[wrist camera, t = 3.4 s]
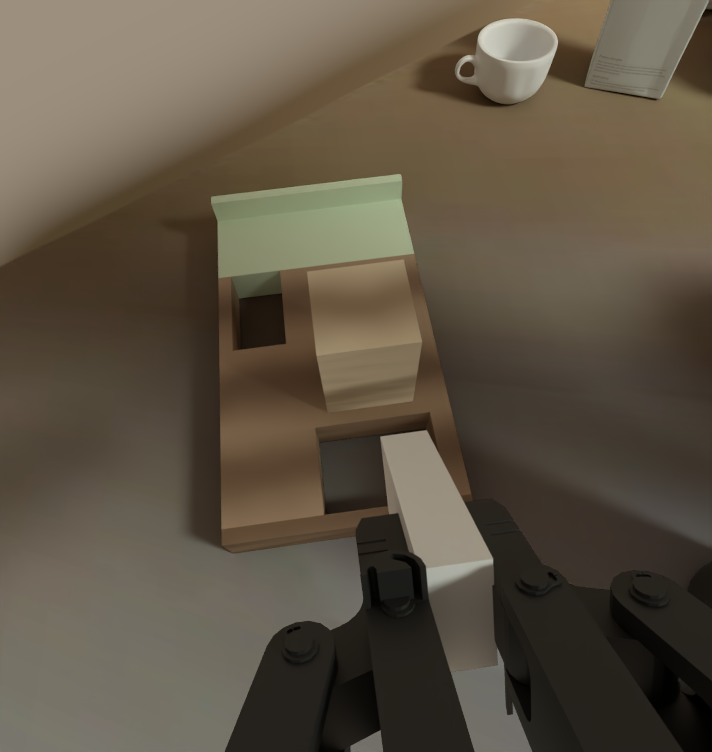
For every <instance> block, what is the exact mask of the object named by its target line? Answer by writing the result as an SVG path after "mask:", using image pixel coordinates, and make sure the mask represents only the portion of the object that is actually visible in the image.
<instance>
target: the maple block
mask: <svg viewBox="0 0 712 752" xmlns="http://www.w3.org/2000/svg"><path fill="white" fill-rule="evenodd" d="M307 276H308V285H309V294H310V303H311V312H312V321H313V329H314V338H315V347H316V356H317V361H318V366H319V371H320V376H321V381H322V386H323V391H324V396H325V401H326V406H327V411H328V413H330V412H337V411H345V410H352V409H360V408H367V407H374V406H382V405H389V404H397V403H404V402H412V401H413V397H414V391H415V385H416V378H417V372H418V365H419V359H420V353H421V346H422V339H421V334H420V330H419V325H418V321H417V317H416V312H415V308H414V303H413V299H412V294H411V290H410V285H409V281H408V277H407V272H406V268H405V263H404V260H396V261H388V262H380V263H372V264H364V265H356V266H348V267H340V268H332V269H324V270H316V271H308V272H307Z"/></svg>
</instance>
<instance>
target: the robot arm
mask: <svg viewBox="0 0 712 752" xmlns="http://www.w3.org/2000/svg"><path fill="white" fill-rule="evenodd" d="M380 439H381V448H382V457H383V466H384V475H385V484H386V493H387V502H388V511H389V514H388V515H381V516H374V517H367V518H361V520H360V522H359V524H358V526H357V528H356V530H355V532H356V540H357V548H358V556H359V564H360V572H361V575H360V576H361V583H362V591H363V604H362V606H361V609H360V610H359V612H358V613H357V614H356V616H355V617H353V618H352V619H351V620H350V621H349V622H347V623H345V624H343V625H341V626H340V627H337V628H335V629H333V630H329V629H328V628H327V627H325V626H324V625H322V624H321V623H316V622H311V621H304V622H296V623H294V624H291V625H289V626H286V627H284V628H283V629H281V630H280V631H279V632H278V633H276V634H275V635H274V636H273V637H272V639H271V641H270V642H269V644H268V645H267V647H266V650H265V652H264V655H263V657H262V660H261V662H260V665H259V667H258V670H257V672H256V675H255V677H254V680H253V682H252V685H251V687H250V690H249V692H248V695H247V697H246V700H245V702H244V705H243V707H242V710H241V712H240V715H239V717H238V720H237V722H236V725H235V727H234V730H233V732H232V735H231V737H230V740H229V742H228V745H227V747H226V750H225V752H350V746H351V745H353V744H355V743H357V742H358V741H360V740H362V739H364V738H366V737H368V736H370V735H372V734H374V733H376V732H377V731H379V730H381V737H382V745H383V752H474V749H473V745H472V742H471V739H470V735H469V732H468V729H467V725H466V722H465V719H464V715H463V712H462V709H461V705H460V702H459V699H458V695H457V692H456V688H455V685H454V682H453V678H452V675H451V672H456V671H463V670H469V669H476V668H482V667H489V666H495V665H498V661H497V647H498V650H499V652H500V654H501V657H502V659H503V662H504V670H505V697H506V709H507V715H511V714H513V707H512V702H513V705H514V707H515V709H516V712H517V714H518V717H519V719H520V722H521V724H522V727H523V729H524V732H525V734H526V737H527V739H528V742H529V744H530V747H531V749H532V752H712V609H711V608H710V607H708V606H707V605H706V604H704V603H703V602H701V601H700V600H699V599H697V598H696V597H694V596H693V595H692V594H690V593H689V592H687V591H686V590H685V589H683V588H682V587H680V586H679V585H678V584H676V583H675V582H673V581H671V580H669V579H667V578H666V577H664V576H661V575H658V574H655V573H651V572H648V571H635V570H633V571H628V572H622V573H621V574H619V575H617V576H616V577H614V579H613V581H612V583H611V587H610V590H605V589H594V588H584V587H578V586H574V585H571V584H569V583H568V582H567V580H566V579H565V578H564V577H563V576H562V575H561V574H560V573H559V572H558V571H556V570H554V569H552V568H550V567H548V566H546V565H542V563H541V562H540V560H539V559H538V557H537V555H536V554H535V552H534V551H533V549H532V548H531V546H530V545H529V543H528V542H527V540H526V539H525V537H524V535H523V534H522V532H520V530H519V528H518V526H517V525H516V523H515V522H513V519H512V517H511V515H510V514H509V512H508V511H507V509H506V508H505V507H504V506H502V505H501V504H499V503H497V502H496V501H494V500H493V499H484V500H477V501H470V502H464V501H463V499H462V498H461V496H460V494H459V492H458V490H457V488H456V486H455V484H454V482H453V480H452V478H451V476H450V474H449V472H448V470H447V469H446V467H445V465H444V463H443V461H442V459H441V457H440V455H439V453H438V451H437V449H436V447H435V445H434V443H433V441H432V440H431V438H430V436H429V434H428V432H427V430H425V431H418V432H410V433H403V434H396V435H388V436H381V437H380Z"/></svg>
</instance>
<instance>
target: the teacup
mask: <svg viewBox="0 0 712 752" xmlns="http://www.w3.org/2000/svg"><path fill="white" fill-rule="evenodd" d="M557 45H558V39H557V36H556V34H555V33H554V32H553V31H552V30H551V29H550V28H549V27H547V26H545V25H543V24H541V23H539V22H536V21H532V20H527V19H517V18H514V19H504V20H499V21H496V22H493V23H491V24H489V25H487V26H486V27H484V28H483V29H482V30H481V32H480V33H479V36H478V41H477V48H476V55H467V56H464V57H463V58H461V59H460V60H459V61H458V63H457V65H456V67H455V75H456V77H457V78H458V80H460V81H461V82H464V83H467V84H471V85H476V86H478V87H479V89H480V90H481V92H482V93H483V94H484V95H485V96H486V97H487V98H489V99H491V100H492V101H494V102H497V103H501V104H514V103H519V102H522V101H524V100H526V99H528V98H530V97H531V96H532V95H533V94H535V93H536V92H537V90H538V89H539V88H540V86H541V85H542V83H543V82H544V80H545V78H546V76H547V73H548V71H549V68H550V66H551V63H552V61H553V58H554V55H555V52H556V49H557ZM465 62H471V63H472V64H473V65H474V67H475V72H474V75H473V76H472V77H463V76H461V75H460V74H459V71H460V68H461V66H462V64H464V63H465Z"/></svg>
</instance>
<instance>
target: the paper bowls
mask: <svg viewBox="0 0 712 752" xmlns="http://www.w3.org/2000/svg"><path fill="white" fill-rule="evenodd" d="M705 9H709V10H712V0H709V2H708V4H707V6H706V8H705Z"/></svg>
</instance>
